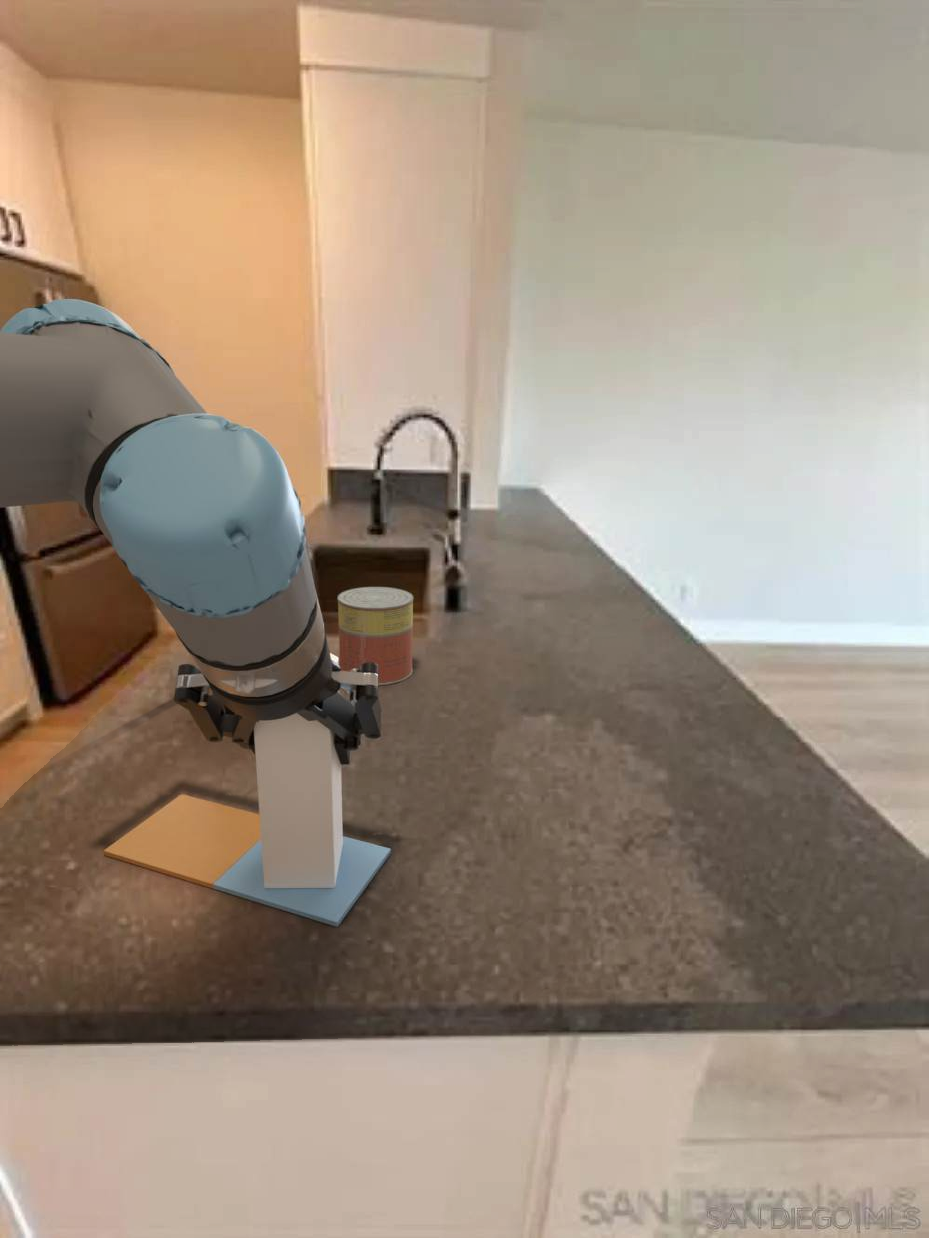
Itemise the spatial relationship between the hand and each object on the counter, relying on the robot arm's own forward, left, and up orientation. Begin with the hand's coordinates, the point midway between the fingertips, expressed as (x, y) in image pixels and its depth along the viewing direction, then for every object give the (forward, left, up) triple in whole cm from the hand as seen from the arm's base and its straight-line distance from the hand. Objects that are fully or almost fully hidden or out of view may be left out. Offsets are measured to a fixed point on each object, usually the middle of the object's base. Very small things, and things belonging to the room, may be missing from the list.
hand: (307, 750), depth 60 cm
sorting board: (-4, -3, -10) cm, 11 cm away
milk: (+2, -3, -10) cm, 10 cm away
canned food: (-13, +41, -10) cm, 44 cm away
